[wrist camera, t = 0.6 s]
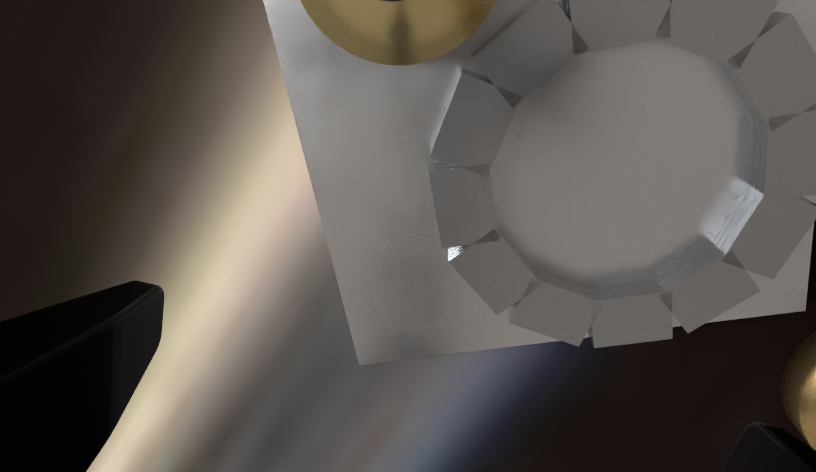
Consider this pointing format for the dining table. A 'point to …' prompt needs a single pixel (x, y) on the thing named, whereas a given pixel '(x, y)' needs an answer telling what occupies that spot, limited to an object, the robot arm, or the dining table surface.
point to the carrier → (555, 164)
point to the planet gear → (801, 389)
